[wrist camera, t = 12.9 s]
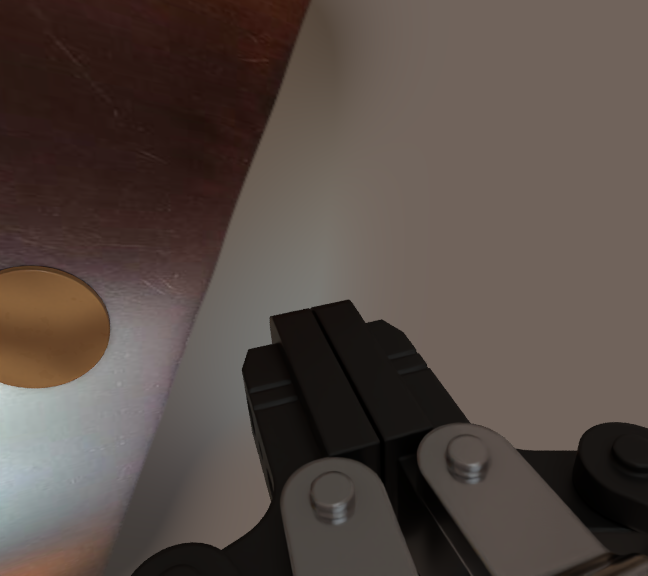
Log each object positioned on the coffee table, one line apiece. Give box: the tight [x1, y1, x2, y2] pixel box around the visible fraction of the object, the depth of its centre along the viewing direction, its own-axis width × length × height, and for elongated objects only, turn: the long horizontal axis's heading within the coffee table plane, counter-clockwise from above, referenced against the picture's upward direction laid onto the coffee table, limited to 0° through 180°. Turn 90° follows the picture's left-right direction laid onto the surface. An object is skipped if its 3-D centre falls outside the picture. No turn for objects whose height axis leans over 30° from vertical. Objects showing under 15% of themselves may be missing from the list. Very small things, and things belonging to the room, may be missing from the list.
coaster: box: [0, 266, 110, 388], centre depth 38 cm, size 9×9×1 cm
